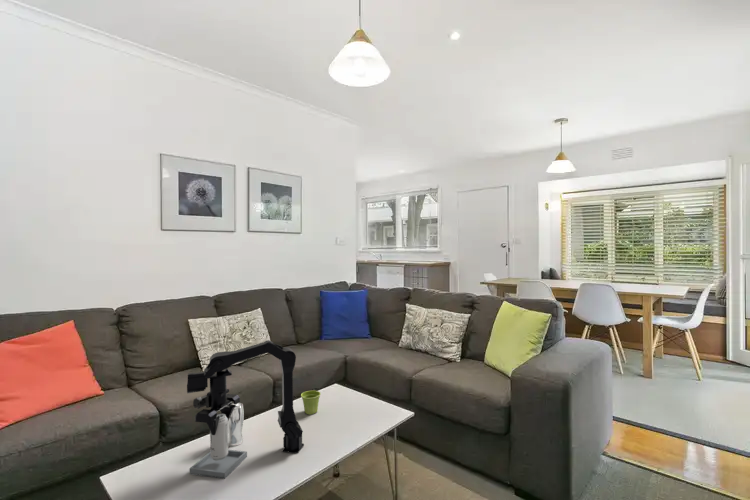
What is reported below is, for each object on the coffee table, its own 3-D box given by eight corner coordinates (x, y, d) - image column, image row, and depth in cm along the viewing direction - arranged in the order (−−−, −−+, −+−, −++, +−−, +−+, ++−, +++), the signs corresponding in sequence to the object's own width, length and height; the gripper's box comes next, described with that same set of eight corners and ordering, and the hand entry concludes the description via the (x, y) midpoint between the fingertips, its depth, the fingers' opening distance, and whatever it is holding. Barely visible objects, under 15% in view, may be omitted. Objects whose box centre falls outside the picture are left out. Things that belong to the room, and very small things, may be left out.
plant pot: (319, 416, 178) (318, 397, 178) (299, 416, 178) (299, 398, 178) (322, 407, 187) (322, 390, 187) (303, 407, 187) (303, 390, 187)
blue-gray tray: (246, 456, 144) (246, 451, 144) (224, 478, 130) (224, 473, 130) (214, 453, 147) (214, 447, 147) (189, 474, 133) (189, 468, 133)
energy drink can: (210, 454, 140) (209, 414, 140) (228, 451, 142) (227, 411, 142) (210, 463, 134) (209, 421, 134) (228, 459, 137) (227, 417, 137)
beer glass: (238, 447, 151) (237, 410, 151) (222, 445, 152) (221, 408, 152) (247, 438, 157) (246, 403, 157) (232, 437, 159) (231, 401, 159)
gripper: (215, 378, 149) (215, 417, 149) (181, 396, 131) (181, 441, 131) (240, 380, 147) (240, 420, 147) (209, 398, 128) (210, 444, 129)
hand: (219, 430), depth 138 cm, fingers closed on energy drink can, 6 cm apart
